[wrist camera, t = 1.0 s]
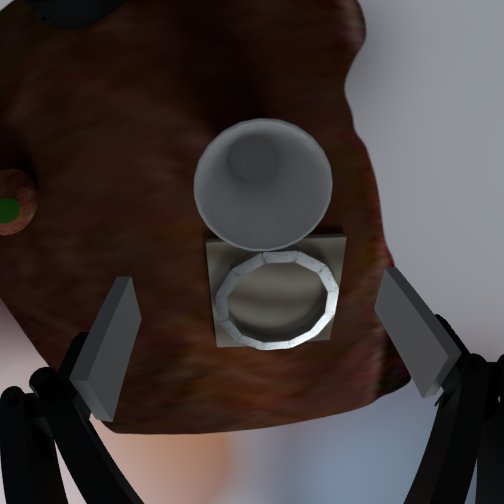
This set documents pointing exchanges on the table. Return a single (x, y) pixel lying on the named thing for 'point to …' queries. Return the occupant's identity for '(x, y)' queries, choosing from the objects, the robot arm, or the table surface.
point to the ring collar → (276, 256)
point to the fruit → (16, 200)
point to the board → (274, 288)
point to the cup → (263, 184)
